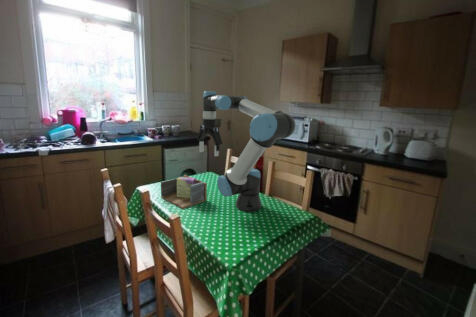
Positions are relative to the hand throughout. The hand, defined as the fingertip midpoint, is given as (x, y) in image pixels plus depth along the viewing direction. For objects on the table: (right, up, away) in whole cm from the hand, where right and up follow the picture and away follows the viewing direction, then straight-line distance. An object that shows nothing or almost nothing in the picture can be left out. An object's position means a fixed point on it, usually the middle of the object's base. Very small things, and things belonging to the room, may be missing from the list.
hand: (208, 154), depth 153 cm
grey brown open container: (-16, -28, +4) cm, 32 cm away
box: (-15, -26, +5) cm, 31 cm away
